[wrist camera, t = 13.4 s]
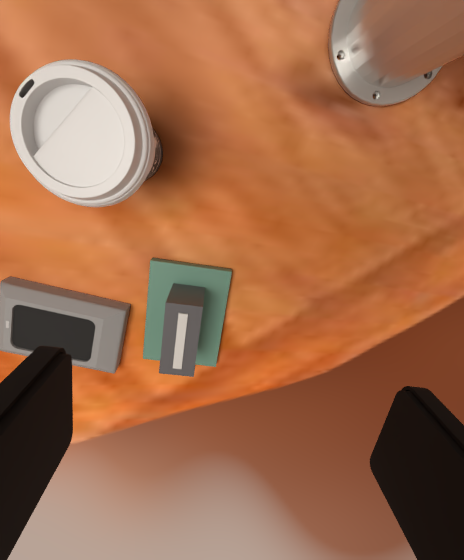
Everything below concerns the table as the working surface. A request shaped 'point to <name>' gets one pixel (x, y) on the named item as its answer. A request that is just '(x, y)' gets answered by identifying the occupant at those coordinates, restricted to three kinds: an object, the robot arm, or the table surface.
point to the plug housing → (181, 329)
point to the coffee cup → (84, 133)
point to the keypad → (62, 323)
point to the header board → (213, 306)
